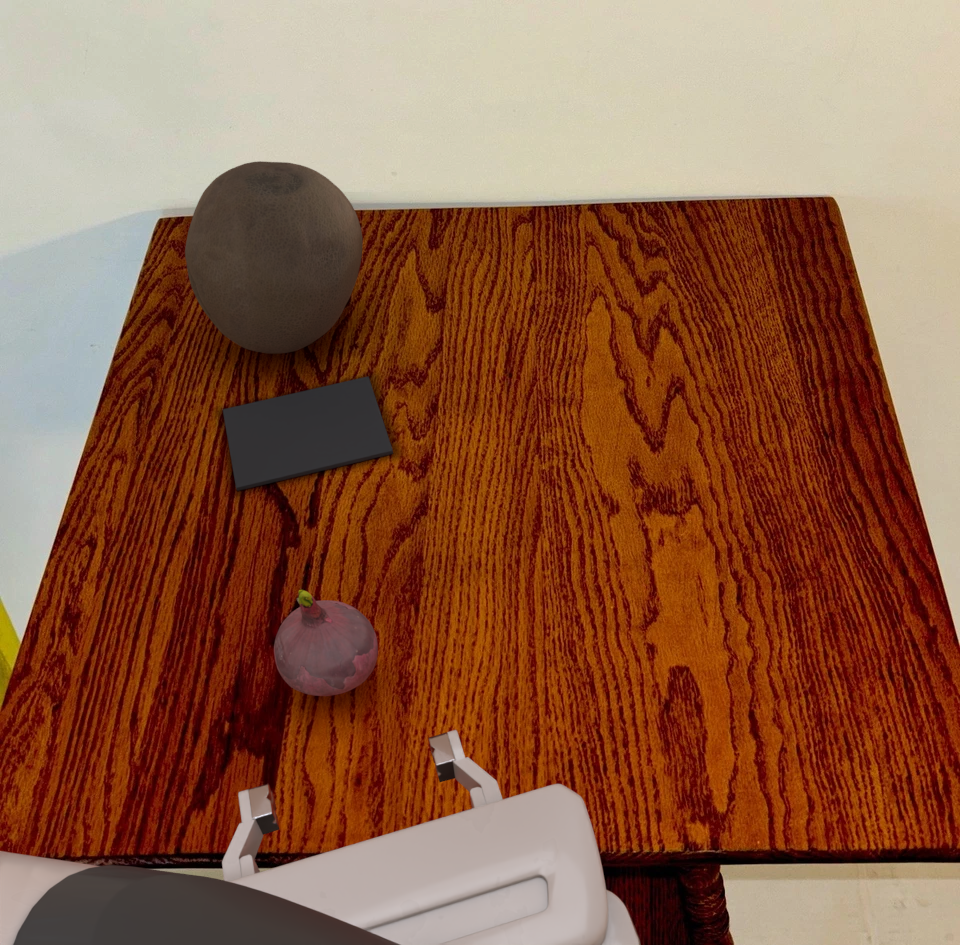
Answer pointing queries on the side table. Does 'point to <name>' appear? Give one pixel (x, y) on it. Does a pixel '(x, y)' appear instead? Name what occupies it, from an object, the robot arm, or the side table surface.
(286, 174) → the coconut
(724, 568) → the side table surface
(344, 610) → the vegetable
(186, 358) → the side table surface
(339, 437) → the mat
